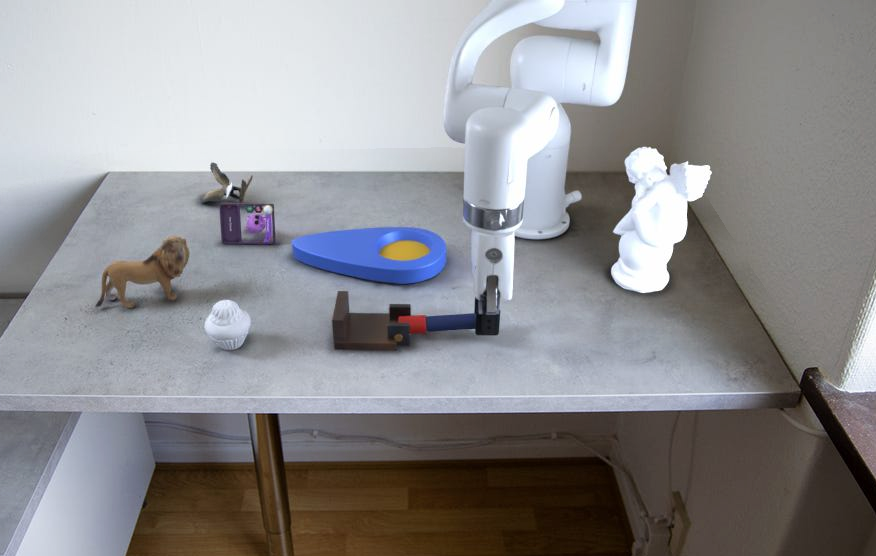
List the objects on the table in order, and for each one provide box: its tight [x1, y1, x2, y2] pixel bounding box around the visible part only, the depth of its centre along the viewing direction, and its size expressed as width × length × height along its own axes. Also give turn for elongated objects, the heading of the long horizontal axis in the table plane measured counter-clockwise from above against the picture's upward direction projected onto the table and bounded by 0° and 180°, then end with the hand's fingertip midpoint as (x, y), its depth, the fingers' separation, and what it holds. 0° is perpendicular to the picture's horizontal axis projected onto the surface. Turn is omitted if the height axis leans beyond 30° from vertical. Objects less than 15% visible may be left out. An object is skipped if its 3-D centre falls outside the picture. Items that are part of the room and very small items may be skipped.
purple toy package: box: [218, 202, 277, 245], centre depth 129 cm, size 7×5×9 cm
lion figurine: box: [95, 235, 190, 309], centre depth 113 cm, size 15×5×9 cm, turn 116°
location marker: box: [291, 226, 447, 285], centre depth 123 cm, size 13×3×25 cm
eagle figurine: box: [199, 162, 254, 204], centre depth 139 cm, size 8×7×9 cm
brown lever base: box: [331, 290, 412, 351], centre depth 107 cm, size 10×7×5 cm
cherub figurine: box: [610, 146, 713, 294], centre depth 113 cm, size 12×12×22 cm
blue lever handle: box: [398, 312, 476, 335], centre depth 107 cm, size 14×3×3 cm, turn 88°
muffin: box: [204, 299, 252, 351], centre depth 105 cm, size 6×6×7 cm
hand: (486, 325), depth 107 cm, fingers closed on blue lever handle, 2 cm apart
